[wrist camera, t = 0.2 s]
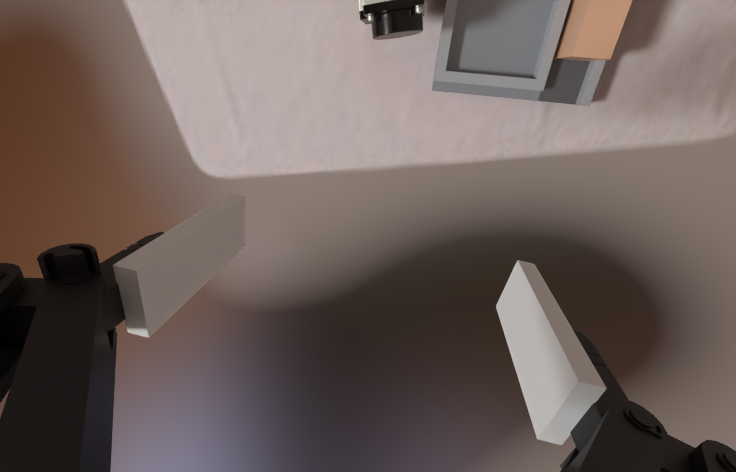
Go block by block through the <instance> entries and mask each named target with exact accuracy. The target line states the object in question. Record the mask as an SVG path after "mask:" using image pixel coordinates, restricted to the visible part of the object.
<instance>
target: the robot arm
mask: <svg viewBox="0 0 736 472" xmlns="http://www.w3.org/2000/svg"><path fill="white" fill-rule="evenodd" d="M244 240H245V197H243V196H239V195H235V194H230V193H229V194H228V195H226V196H224V197H223V198H221V199H220V200H218V201H216V202H214V203H213V204H211V205H210V206H208V207H206V208H205V209H203V210H201V211H200V212H198V213H197V214H195V215H193V216H192V217H190V218H189V219H187V220H185V221H184V222H182V223H180V224H179V225H177V226H175V227H174V228H172V229H171V230H169V231H167V232H166V233H163V232H159V233H156V234H152V235H149V236H146V237H144V238H143V239H141V240H139V241H138V242H136V243H135V244H132V245H131V246H129V247H127V248H126V250H122V251H121V252H119V253H117V254H115V255H114V256H112V257H110V258H109V259H107V260H105V261H104V262H102V263H100V264H99V260H98V255H97V252H96V249H95V248H94V247H92V246H91V245H87V244H66V245H61V246H57V247H54V248H51V249H48V250H46V251H45V252H43V253H41V254H40V255H39V256H38V258H37V260H38V263H39V265H40V268H41V271H42V274H43V277H44V278H24V277H23V274H22V272H21V269H20V267H19V266H17V265H14V264H8V263H0V402H1V401H2V399H3V398H4V397H5V395H6V394H7V392H8V391H9V389H10V391H9V394H8V397H7V400H6V403H5V406H4V409H3V412H2V415H1V418H0V472H110V468H111V447H112V427H113V406H114V385H115V365H116V344H117V332H116V328H115V327H116V326H117V325H118V324H120V323H121V322H122V321H123V320H124V319H125V322H126V326H127V331H128V332H129V333H132V334H136V335H141V336H144V337H148V338H149V337H150V336H151V335H152V334H153V333H154V332H155V331H157V330H158V328H160V327H161V326H162V325H163V324H164V323H165V322H166V321H167V320H168V319H169V318H170V317H171V316H172V315H173V314H174V313H175V312H176V311H177V310H178V309H179V308H180V307H181V306H182V305H184V304H185V302H187V301H188V300H189V299H190V298H191V297H192V296H193V295H194V294H195V293H196V292H197V291H198V290H199V289H200V288H201V287H202V286H203V285H204V284H205V283H206V282H207V281H209V279H211V278H212V277H213V276H214V275H215V274H216V273H217V272H218V271H219V270H220V269H221V268H222V267H223V266H224V265H225V264H226V263H227V262H228V261H229V260H230V259H231V258H232V257H234V256H235V255H236V254H237V253H238V252H239V251H240V250H241V249H242V248H243V247H244V246H245V241H244ZM496 308H497V311H498V315H499V318H500V321H501V324H502V327H503V331H504V334H505V337H506V340H507V343H508V347H509V349H510V353H511V356H512V360H513V363H514V366H515V369H516V372H517V375H518V379H519V382H520V385H521V388H522V392H523V395H524V398H525V401H526V404H527V408H528V411H529V414H530V417H531V420H532V423H533V427H534V430H535V433H536V436H537V439H539V440H543V441H547V442H551V443H555V444H559V445H562V444H563V443H564V442H565V440H566V439H567V438H568V437H569V435H570V434H571V435H572V438H573V440H574V443H575V445H576V448H575V449H574V450H573V451H572V452H571V453H570V455H569V456H568V457H567V458H566V459H565V460H564V462H563V463H562V464H561V465H560V467H561V468H562V470H561V471H560V472H736V451H735V450H733V449H731V448H730V447H728V446H726V445H724V444H721V443H719V442H717V441H712V440H706V441H704V442H703V443H701V444H700V445H699V446H698V447H696V448H694V447H692V446H690V445H688V444H686V443H684V442H682V441H680V440H678V439H676V438H674V437H672V436H670V435H668V434H667V432H666V430H665V429H664V427H663V425H662V424H661V423H660V422H659V421H658V420H657V418H656V417H655V416H654V415H652V414H651V413H650V412H649V411H647V410H646V409H645V408H643V407H642V406H640V405H638V404H636V403H634V402H632V401H629V400H628V398H627V397H626V395H625V394H624V392H623V390H622V389H621V387H620V386H619V384H618V382H617V381H616V379H615V378H614V376H613V374H612V373H611V371H610V370H609V368H607V365H606V363H605V362H604V360H603V358H601V355H600V354H599V352H598V351H597V349H596V347H595V346H594V344H593V343H592V342H591V341H589V339H588V338H587V337H585V336H584V335H583V334H582V333H581V332H577V331H573V329H572V328H571V326H570V324H569V323H568V321H567V319H566V317H565V316H564V315H563V312H562V311H561V309H560V307H559V306H558V304H557V302H556V300H555V299H554V297H553V296H552V293H551V292H550V290H549V288H548V287H547V285H546V283H545V281H544V280H543V278H542V276H541V275H540V273H539V271H538V270H537V268H536V266H535V265H534V264H532V263H527V262H523V261H519V260H518V261H517V263H516V265H515V267H514V269H513V271H512V273H511V275H510V278H509V280H508V282H507V284H506V286H505V288H504V290H503V293H502V295H501V297H500V299H499V301H498V303H497V305H496Z"/></svg>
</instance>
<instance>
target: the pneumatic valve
mask: <svg viewBox="0 0 736 472" xmlns="http://www.w3.org/2000/svg"><path fill="white" fill-rule="evenodd" d="M358 2H359V11H360V20H361V21H363V22H364V23H365V24H372V34H373V39H376V40H382V39H393V38H400V37H405V36H410V35H414V34H418V33H421V32H422V31H423V16H424V0H358Z"/></svg>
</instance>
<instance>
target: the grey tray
mask: <svg viewBox="0 0 736 472" xmlns="http://www.w3.org/2000/svg"><path fill="white" fill-rule="evenodd" d="M571 1H572V0H446V4H445V10H444V17H443V23H442V30H441V36H440V42H439V49H438V55H437V61H436V68H435V74H434V80H433V87H432V90H433V91H443V92H453V93H464V94H474V95H484V96H494V97H505V98H515V99H525V100H536V101H546V102H556V103H566V104H576V105H582V106H590V103H591V101H592V98H593V95H594V92H595V90H596V87H597V84H598V82H599V79H600V76H601V73H602V71H603V68H604V65H605V63H606V60H597V61H580V60H568V59H556V58H554V57H555V53H556V50H557V47H558V43H559V40H560V37H561V34H562V30H563V27H564V24H565V20H566V17H567V14H568V10H569V7H570V4H571Z"/></svg>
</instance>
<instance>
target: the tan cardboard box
mask: <svg viewBox="0 0 736 472" xmlns="http://www.w3.org/2000/svg"><path fill="white" fill-rule="evenodd" d="M631 3H632V0H572V1H571V4H570V7H569V10H568V14H567V17H566V20H565V24H564V27H563V30H562V34H561V37H560V40H559V43H558V47H557V50H556V53H555V57H554V58H556V59H568V60H580V61H597V60H610V59H611V57H612V54H613V51H614V48H615V46H616V43H617V40H618V38H619V35H620V32H621V30H622V27H623V24H624V22H625V19H626V16H627V14H628V11H629V8H630V6H631Z"/></svg>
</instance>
